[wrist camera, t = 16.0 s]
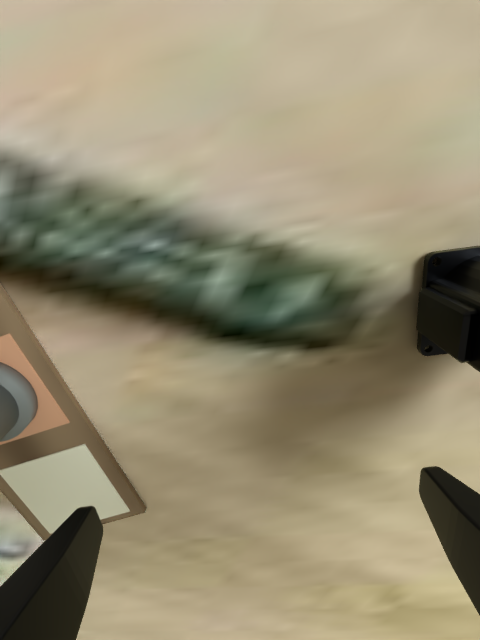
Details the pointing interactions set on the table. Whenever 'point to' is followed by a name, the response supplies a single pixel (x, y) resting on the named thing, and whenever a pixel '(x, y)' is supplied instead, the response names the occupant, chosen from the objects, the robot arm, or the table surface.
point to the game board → (55, 444)
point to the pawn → (15, 402)
